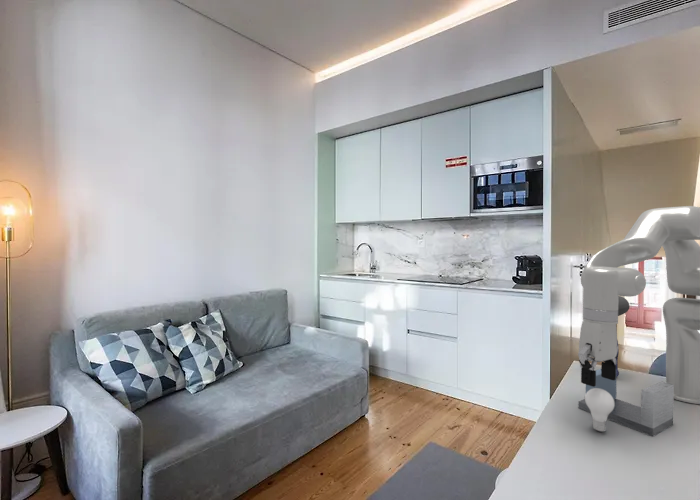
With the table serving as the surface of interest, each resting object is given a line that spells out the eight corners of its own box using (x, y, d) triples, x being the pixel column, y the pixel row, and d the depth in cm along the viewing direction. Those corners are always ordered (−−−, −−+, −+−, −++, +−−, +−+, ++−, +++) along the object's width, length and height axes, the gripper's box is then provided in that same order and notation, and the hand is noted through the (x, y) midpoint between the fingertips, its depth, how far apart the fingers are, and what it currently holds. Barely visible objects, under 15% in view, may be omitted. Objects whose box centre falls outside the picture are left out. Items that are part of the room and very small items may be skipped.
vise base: (599, 399, 111) (600, 364, 111) (673, 425, 96) (673, 384, 96) (578, 408, 106) (578, 371, 106) (652, 436, 90) (653, 393, 90)
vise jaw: (606, 395, 110) (607, 366, 110) (616, 398, 108) (616, 369, 107) (585, 403, 104) (585, 373, 104) (594, 406, 102) (595, 376, 102)
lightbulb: (605, 439, 88) (606, 395, 88) (579, 428, 94) (579, 386, 94) (619, 433, 91) (620, 391, 91) (593, 422, 97) (593, 382, 97)
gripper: (601, 311, 100) (600, 372, 100) (566, 315, 91) (564, 382, 91) (633, 315, 93) (631, 381, 93) (598, 321, 85) (596, 392, 85)
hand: (598, 381), depth 92 cm, fingers open, 9 cm apart
